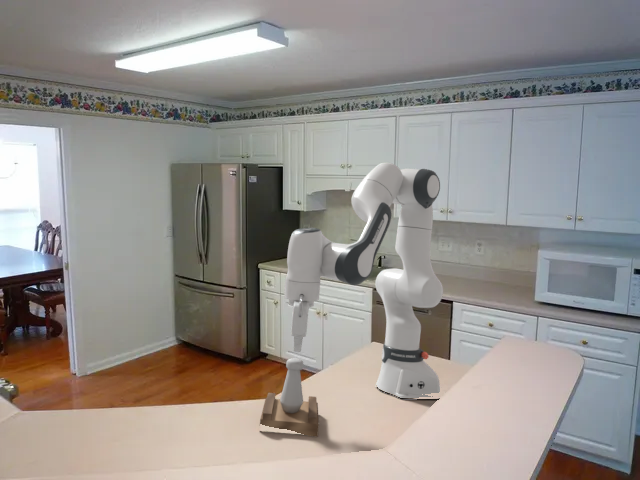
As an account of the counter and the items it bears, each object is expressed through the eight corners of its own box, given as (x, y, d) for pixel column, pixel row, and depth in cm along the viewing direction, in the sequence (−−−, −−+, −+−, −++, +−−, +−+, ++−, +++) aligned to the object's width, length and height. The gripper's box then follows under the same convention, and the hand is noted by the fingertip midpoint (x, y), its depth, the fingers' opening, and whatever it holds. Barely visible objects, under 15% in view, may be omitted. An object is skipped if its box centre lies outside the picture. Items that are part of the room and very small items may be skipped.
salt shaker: (299, 416, 115) (303, 363, 114) (276, 412, 116) (281, 360, 116) (304, 407, 120) (308, 357, 120) (283, 404, 121) (287, 355, 121)
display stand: (316, 413, 125) (318, 397, 125) (317, 436, 111) (319, 418, 111) (264, 409, 125) (266, 392, 125) (259, 431, 111) (260, 412, 111)
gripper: (315, 299, 107) (310, 358, 107) (314, 287, 128) (310, 337, 128) (287, 297, 107) (283, 356, 107) (291, 285, 127) (287, 335, 128)
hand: (297, 346), depth 118 cm, fingers open, 8 cm apart
